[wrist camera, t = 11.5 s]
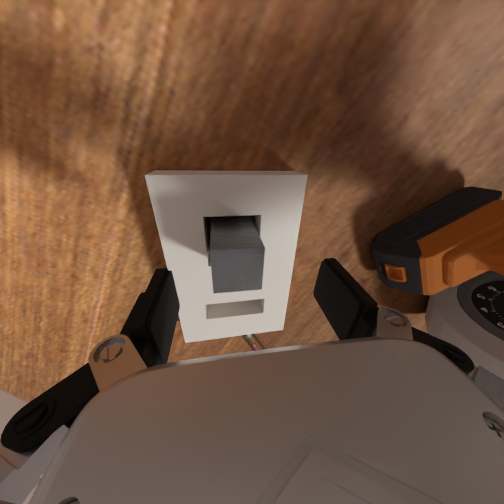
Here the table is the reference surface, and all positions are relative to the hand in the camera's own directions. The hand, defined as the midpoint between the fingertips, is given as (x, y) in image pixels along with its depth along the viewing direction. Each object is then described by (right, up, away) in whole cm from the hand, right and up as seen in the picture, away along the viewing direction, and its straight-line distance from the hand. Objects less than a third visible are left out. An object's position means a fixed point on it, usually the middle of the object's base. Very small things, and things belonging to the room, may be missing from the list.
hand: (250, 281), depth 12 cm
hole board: (-2, +1, +11) cm, 11 cm away
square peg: (-2, +4, +9) cm, 10 cm away
